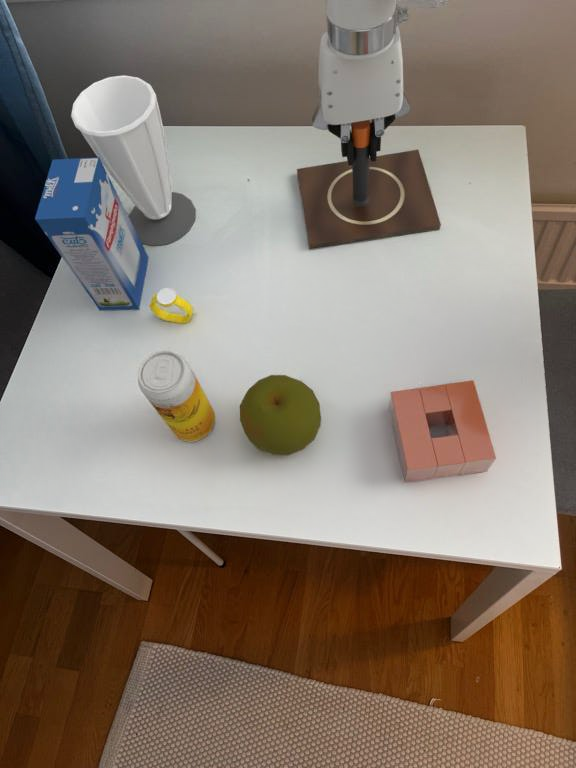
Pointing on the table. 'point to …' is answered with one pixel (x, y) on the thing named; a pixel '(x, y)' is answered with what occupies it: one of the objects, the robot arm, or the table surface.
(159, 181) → the cup
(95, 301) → the milk carton
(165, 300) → the watch
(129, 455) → the table surface
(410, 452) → the holder
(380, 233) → the brown flat wooden board
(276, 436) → the apple
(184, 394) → the beer can
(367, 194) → the marker
